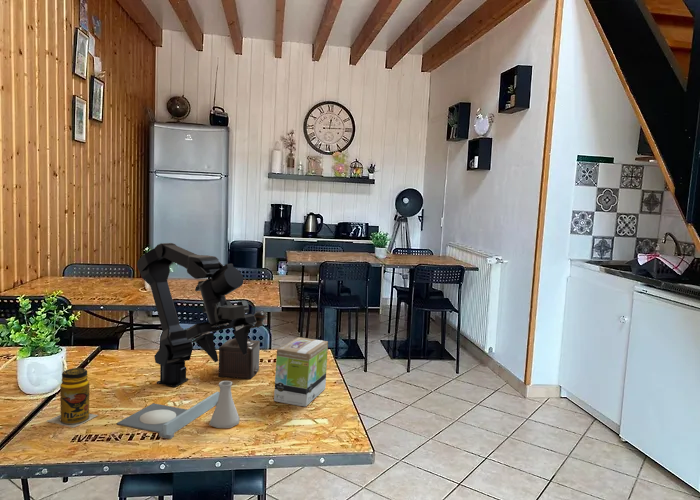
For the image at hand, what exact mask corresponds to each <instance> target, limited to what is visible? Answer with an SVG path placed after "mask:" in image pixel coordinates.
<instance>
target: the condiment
mask: <svg viewBox="0 0 700 500" xmlns="http://www.w3.org/2000/svg"><path fill="white" fill-rule="evenodd" d="M61 375H62V377H61V381H62V382H61V383H60V387H59V388H60V392H59V394H60V395H59V396H60V397H59V398H60V405H59V406H60V414H59V415H57V416H55V417H52V418H51V419H47V420H46V422H49V423H53V424H57V425H60V426H63V427H64V426H65V427H69V428H76V427H78V426H80V425H82V424H84V423H86V422H88V421H90V420H92V419H94V418H96V417H98V416H99V414H94V413H90V380H89V378H88V377H89V375H88V370H87V369H86V368H83V367H75V368H74V367H73V368H69V369H65V370H64V371H63V372H62V374H61Z"/></svg>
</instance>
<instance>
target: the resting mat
mask: <svg viewBox="0 0 700 500" xmlns="http://www.w3.org/2000/svg"><path fill="white" fill-rule="evenodd" d="M186 410H188V409H187V408H186V409H185V408H180V407H175V406H170V405H163V404H159V403H150V404H149V405H148V406H145V407H143V408H142V409H140V410H138V411H136V412H134V413H133V414H131V415H129V416H126V417H125V418H123V419H121V420H120V421H118V422H116V425H119V426H123V427H129V428H133V429H139V430H142V431H148V432H152V433H153V432H154V433H158V434H159V433H160V432H162V431H164V424H165V423H167V422H169V421H170V420H172V419H173V418H175V417H177V416H178V415H180V414H181V413H183V412H185V411H186Z"/></svg>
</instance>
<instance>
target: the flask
mask: <svg viewBox="0 0 700 500" xmlns="http://www.w3.org/2000/svg"><path fill="white" fill-rule="evenodd" d="M232 386H233V381H231V380H221V381H220V382H219V383H218V387H219V398H218V402H217V405H216V406H214V410H213V412H212V416H211V418H210V421H209V424H208V425H209V426H211V427H214V428H217V429H231V428H233V427H235V426H237V425H239V423H240V416H239V413H238V410H237V408H236V406H235V402H234V398H233V395H232Z"/></svg>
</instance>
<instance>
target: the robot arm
mask: <svg viewBox="0 0 700 500" xmlns="http://www.w3.org/2000/svg"><path fill="white" fill-rule="evenodd" d="M174 263H175V264H177V265H178V266H181V267H183V268H184V269H186V272H187V274H188V275H189V276H191V277H192V278H193V279H195V280H198V279H206V280H199V281H198V282H197V285H196V286H195V288H194V289H195V292H200V294H201V298H202V302H203V304H204V308H202V313H203V314H205V313H206V316H207V319H208V321H203V322H198V323H195V324H193V325H192V326H190V327H188V328H186V329H184V328H183V326H181V324H180V321H179V317H178V313H177V311H176V310H177V309H176V307H175V303H174V300H173V296H172V293H171V290H170V286H169V282H168V279H169V275H170V273H171V269H170V267H171V266H172V265H173V264H174ZM136 266H137V270H138V271H139V273H140V277H141V278H142V279H143V280H144V281H145V283H146V284H148V285H149V286H150V290H151V294H152V297H153V302H154V305H155V308H156V312H157V315H158V319H159V322H160V326H161V329H162V330H161V331H162V333H161V336H160V340H159V346H160V348H159V349H158V350H157V352H156V353H155V354H154V362H155V364H157V365H158V366H159V365H160V369H159V370H160V371H159V373H160V374H159V375H160V376H159V378H160V379H159V380H157V381H156V384H157V385H161V386H167V387H173V388H176V387H178V386H179V385H182V384H184V383H185V382H188V381H189V378H188V377H187V367H186V361H187V362H188V361H190V360H191V357H192V353H193V350H194V344H193V343H195V344H197V345H198V347H200V348H201V349H202V350H203V351H204V352H206V354H207V355H208V357H210V359H211V360H212V361H213V362H214V363H219V355H218V352H217V349H216V346H215V341H214V336H215V332H217V331H223V330H229V329H232V330H234V332H233V335H234V338H236V340H237V343H238V345H239V347H240V350H241V351H242V353H243V355H245V354H247V341H248V339H249V332H250V331H251V329H253V328H252V327H253V326H254V324H255V323H257V322H256V319H255V316H254V314H252V313H249V312H250V306H249V303H248V301H247V300H240V301H237V304H232V301H231V300H229V299H227V298H226V295H229V294H231V293H232V292H234V291H237V290H238V289H239V288H240V287H242V286H243V285H244V275H243V274H242V273H241V271H240V270H239V269H238V268H236V267H234V264H233V263H225V264H223V263H221V262H220V261H219V258H218V257H217V256H214V255H205V254H196V253H194V252H192V251H190V250H188V249H185V248H182V247H181V246H178V245H177V244H176V243H173V242H165V243H164V242H163V243H162V242H161V243H158V244H157V245H156V246H155V247H154V248H152V249H150V250H148V251H147V252H144V253H143V255H141V256H140V258H139V259H138V260H137V263H136Z"/></svg>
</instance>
